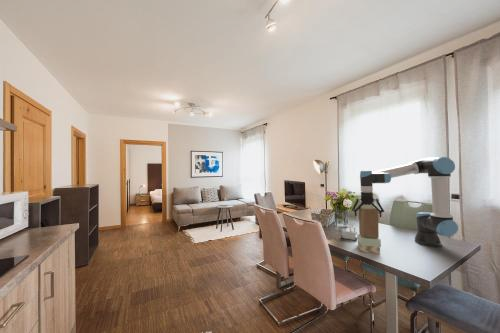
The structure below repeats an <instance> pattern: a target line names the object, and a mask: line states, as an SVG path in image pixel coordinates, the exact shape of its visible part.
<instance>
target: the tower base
mask: <svg viewBox="0 0 500 333" xmlns="http://www.w3.org/2000/svg"><path fill="white" fill-rule="evenodd" d="M357 246H358V249H359V252H361V253H369V254H370V253H371V254H381V247H374V246H361V244H360V243H359V241H358V240H357Z"/></svg>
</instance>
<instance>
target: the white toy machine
mask: <svg viewBox="0 0 500 333" xmlns="http://www.w3.org/2000/svg"><path fill="white" fill-rule="evenodd" d="M347 225H348V227H349V231H348V230H341V236H340V239H341V238H342V239H347V240H353V241H355V242H358V234H357V233H358V232H356V226H354V225H353V224H351V223H348V224H347ZM352 228H353V230H354V231H352V230H351V229H352Z"/></svg>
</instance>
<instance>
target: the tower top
mask: <svg viewBox="0 0 500 333" xmlns="http://www.w3.org/2000/svg"><path fill="white" fill-rule="evenodd" d="M357 234H358V238H357V242H358V241H359V243H360V244H361V246H374V247H380V248H382V240H381V238H380V237H378V238H364V237H363V236H362V235H361V234H360V233H359V232H357Z"/></svg>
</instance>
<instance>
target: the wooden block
mask: <svg viewBox="0 0 500 333" xmlns="http://www.w3.org/2000/svg"><path fill="white" fill-rule="evenodd" d="M378 212H379V211H378V210H377V209H376V208H375V207H374V206H373V207H371V206H370V207H369V206H361V207H360V208H359V210H358V222H359V223H358V225H359V226H358V228H359V229H358V230H359V232H358V233H360V234H361V235H362V236H363V237H364V238H378V237H379V230H380V229H379V222H378ZM379 238H380V237H379Z"/></svg>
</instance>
